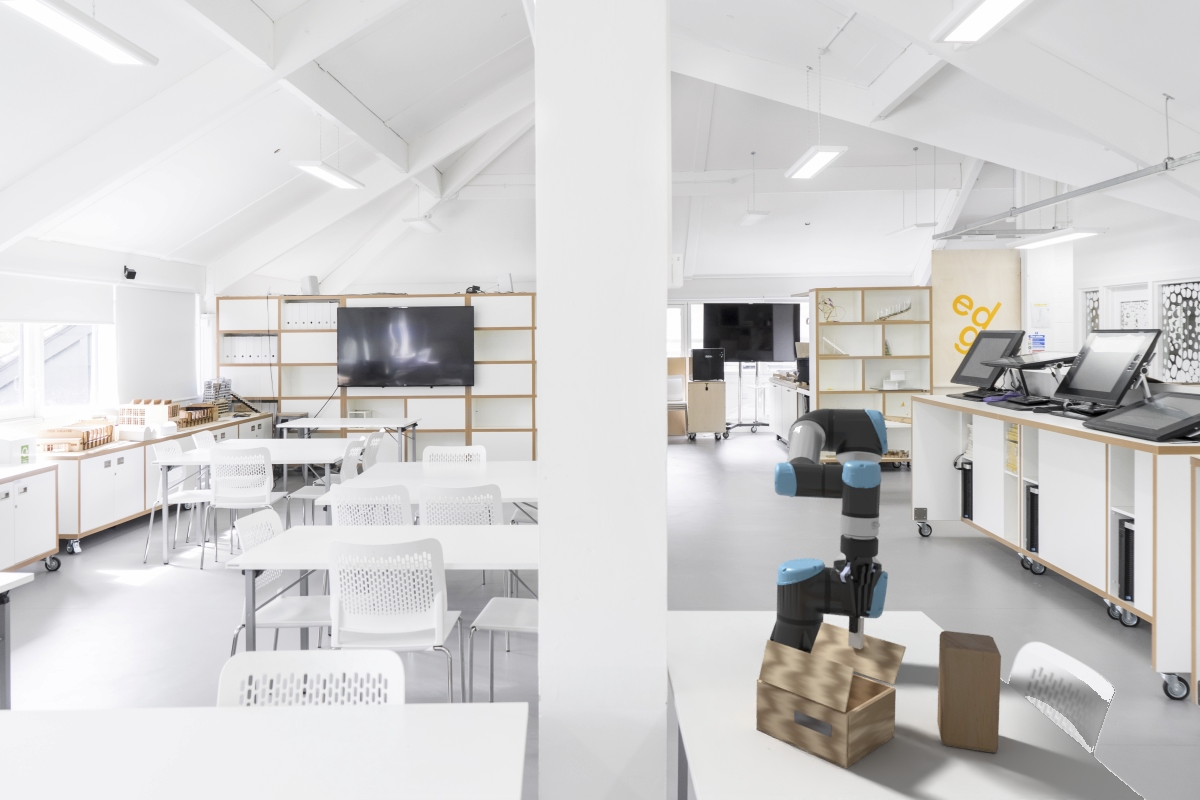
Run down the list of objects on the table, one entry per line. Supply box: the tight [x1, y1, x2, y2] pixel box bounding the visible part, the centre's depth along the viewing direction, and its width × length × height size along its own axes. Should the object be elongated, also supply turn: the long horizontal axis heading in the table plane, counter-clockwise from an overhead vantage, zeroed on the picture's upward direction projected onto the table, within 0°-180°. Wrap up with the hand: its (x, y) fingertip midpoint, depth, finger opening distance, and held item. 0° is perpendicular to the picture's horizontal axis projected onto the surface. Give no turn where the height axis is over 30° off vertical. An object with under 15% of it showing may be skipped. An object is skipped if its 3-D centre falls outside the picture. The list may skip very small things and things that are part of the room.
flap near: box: [758, 639, 855, 712], centre depth 149 cm, size 19×1×8 cm, turn 42°
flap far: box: [810, 621, 907, 686], centre depth 161 cm, size 19×1×8 cm
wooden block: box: [936, 630, 1002, 754], centre depth 152 cm, size 10×10×20 cm
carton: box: [755, 673, 897, 770], centre depth 154 cm, size 21×18×10 cm
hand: (855, 646), depth 161 cm, fingers closed
